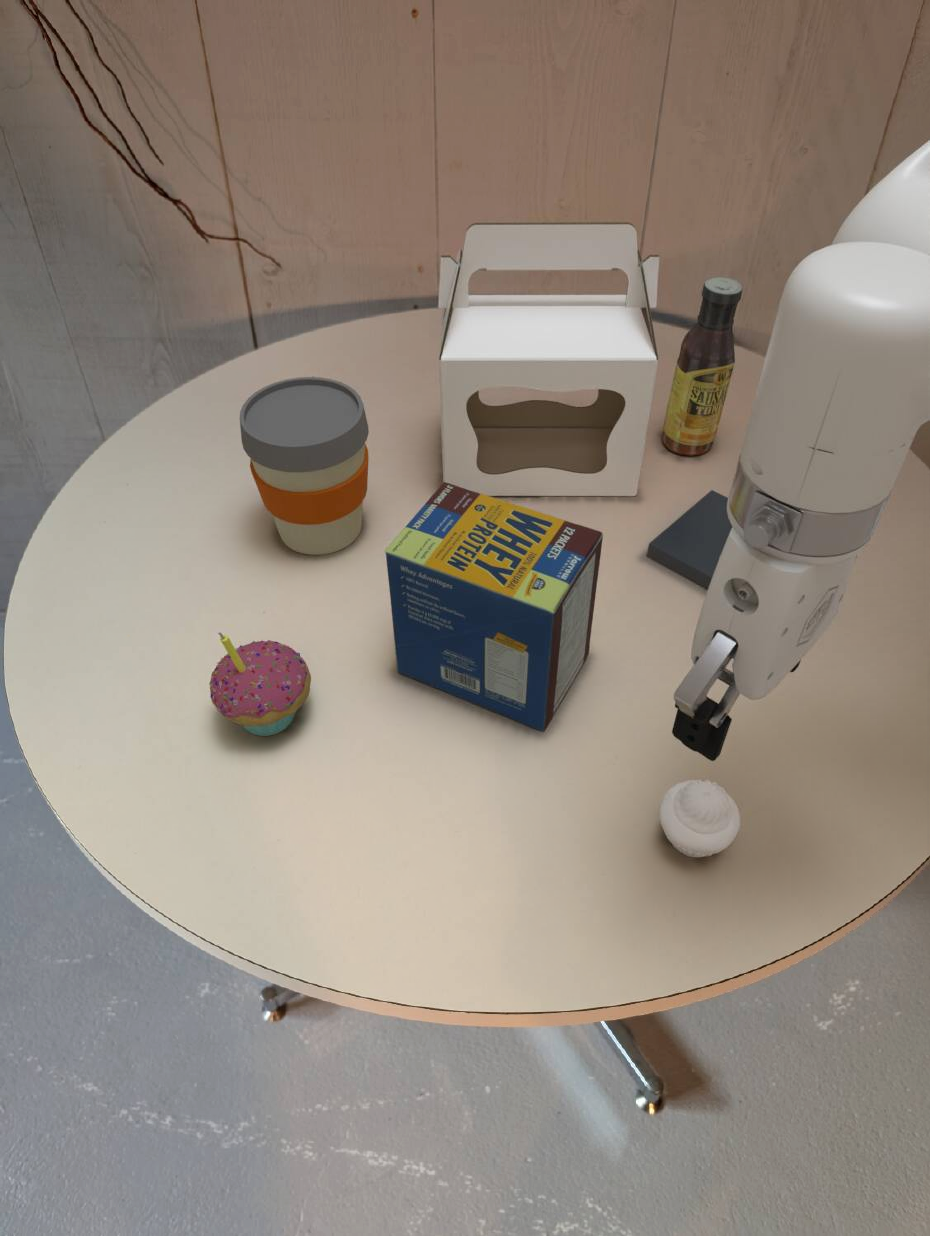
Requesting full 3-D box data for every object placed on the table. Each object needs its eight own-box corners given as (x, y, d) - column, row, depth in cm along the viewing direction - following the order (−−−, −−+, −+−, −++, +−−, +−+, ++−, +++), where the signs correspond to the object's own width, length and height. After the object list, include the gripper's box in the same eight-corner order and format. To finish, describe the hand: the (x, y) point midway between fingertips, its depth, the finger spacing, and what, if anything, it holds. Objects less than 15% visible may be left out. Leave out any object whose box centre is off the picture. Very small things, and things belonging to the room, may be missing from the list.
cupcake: (242, 768, 78) (212, 679, 69) (206, 702, 83) (174, 611, 74) (332, 725, 81) (314, 634, 72) (292, 663, 86) (271, 571, 77)
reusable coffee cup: (266, 574, 94) (238, 456, 83) (260, 499, 103) (234, 383, 92) (386, 557, 96) (374, 439, 85) (370, 484, 104) (357, 368, 93)
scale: (832, 564, 94) (841, 539, 92) (773, 627, 88) (781, 601, 86) (708, 502, 101) (714, 477, 99) (646, 556, 95) (650, 531, 93)
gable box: (626, 429, 111) (659, 194, 91) (638, 497, 102) (678, 254, 82) (445, 428, 112) (438, 195, 91) (441, 497, 103) (432, 254, 82)
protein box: (447, 602, 91) (442, 478, 80) (590, 655, 86) (606, 531, 75) (394, 673, 85) (381, 550, 74) (544, 735, 80) (555, 612, 68)
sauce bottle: (679, 464, 106) (711, 305, 92) (650, 435, 110) (676, 279, 96) (726, 450, 108) (764, 292, 94) (696, 422, 112) (728, 267, 98)
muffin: (746, 860, 71) (766, 813, 66) (676, 885, 70) (692, 838, 65) (705, 796, 75) (722, 747, 70) (639, 819, 74) (651, 770, 69)
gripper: (787, 619, 41) (713, 820, 53) (945, 452, 50) (850, 657, 62) (649, 544, 45) (610, 749, 57) (820, 400, 53) (754, 604, 66)
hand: (735, 701), depth 60 cm, fingers open, 9 cm apart
